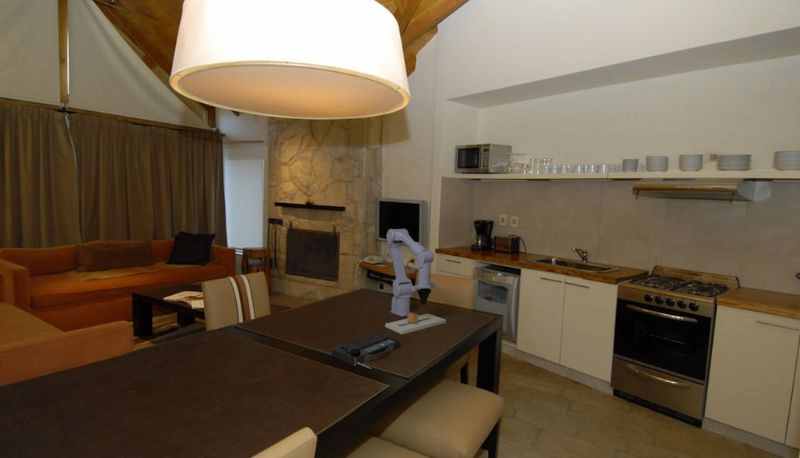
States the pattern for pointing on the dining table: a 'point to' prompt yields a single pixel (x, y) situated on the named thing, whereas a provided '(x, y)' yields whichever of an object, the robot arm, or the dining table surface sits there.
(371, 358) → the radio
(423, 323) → the fader console
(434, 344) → the dining table surface
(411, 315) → the fader tab
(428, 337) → the dining table surface
